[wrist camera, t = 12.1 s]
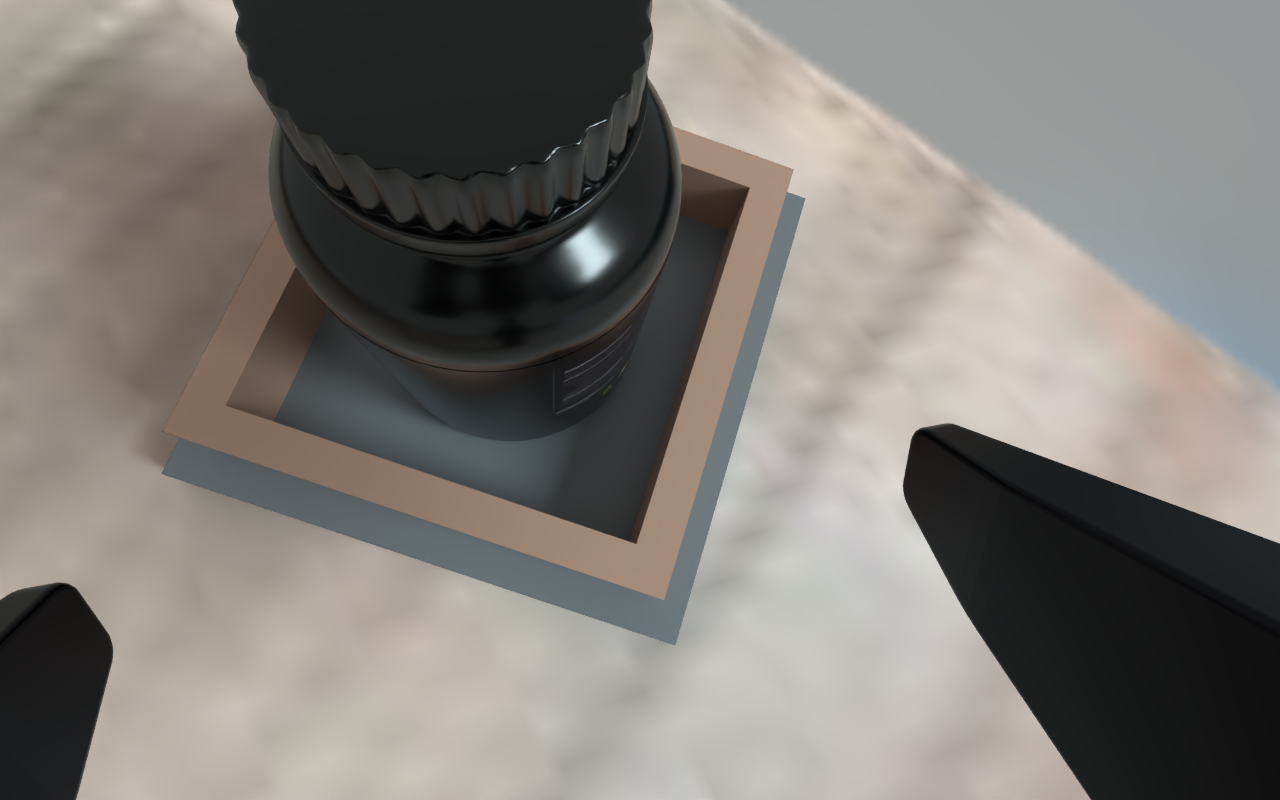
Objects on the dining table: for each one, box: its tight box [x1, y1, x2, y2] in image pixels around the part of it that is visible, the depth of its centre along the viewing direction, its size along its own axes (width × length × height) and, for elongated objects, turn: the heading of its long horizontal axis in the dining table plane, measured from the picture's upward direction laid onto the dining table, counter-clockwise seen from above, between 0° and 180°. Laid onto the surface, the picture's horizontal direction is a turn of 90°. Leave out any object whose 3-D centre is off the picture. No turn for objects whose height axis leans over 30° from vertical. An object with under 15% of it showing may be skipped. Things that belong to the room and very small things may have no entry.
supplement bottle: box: [232, 0, 682, 441], centre depth 14 cm, size 7×7×12 cm
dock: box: [161, 127, 805, 645], centre depth 19 cm, size 14×14×4 cm
